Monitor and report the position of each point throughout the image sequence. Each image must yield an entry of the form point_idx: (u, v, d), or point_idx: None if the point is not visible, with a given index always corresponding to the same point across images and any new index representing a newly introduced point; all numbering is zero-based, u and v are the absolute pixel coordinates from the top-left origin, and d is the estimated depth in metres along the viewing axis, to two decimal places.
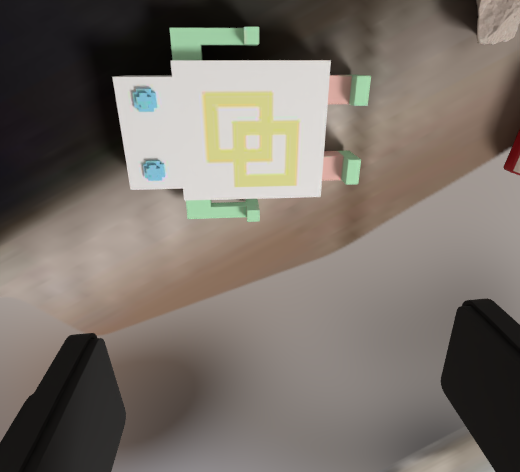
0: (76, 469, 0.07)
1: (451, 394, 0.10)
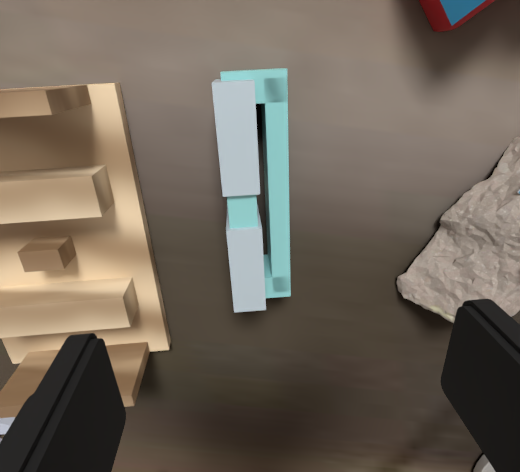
0: (76, 469, 0.07)
1: (451, 394, 0.10)
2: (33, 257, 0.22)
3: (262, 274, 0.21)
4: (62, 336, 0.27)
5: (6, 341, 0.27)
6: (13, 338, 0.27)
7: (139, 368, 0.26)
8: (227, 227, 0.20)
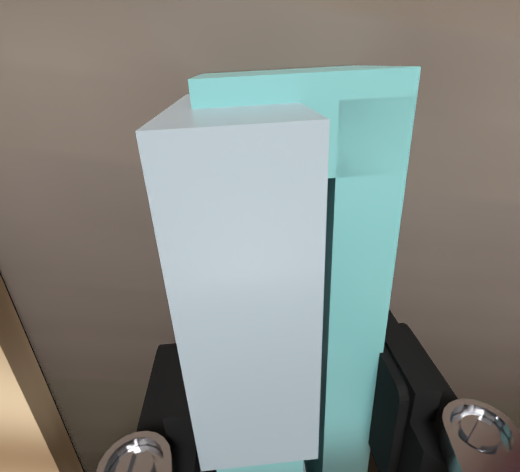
0: None
1: None
2: None
3: None
4: None
5: None
6: None
7: None
8: None
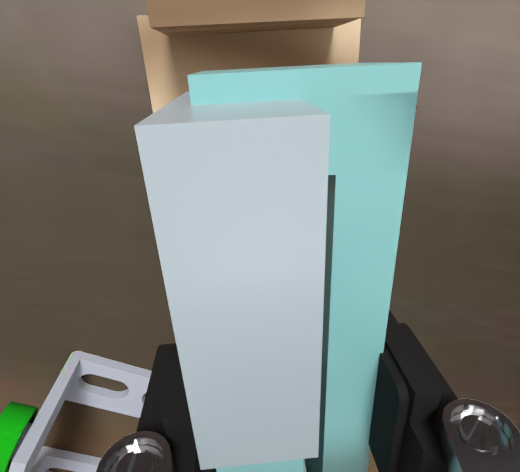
0: None
1: None
2: None
3: None
4: None
5: None
6: None
7: None
8: None
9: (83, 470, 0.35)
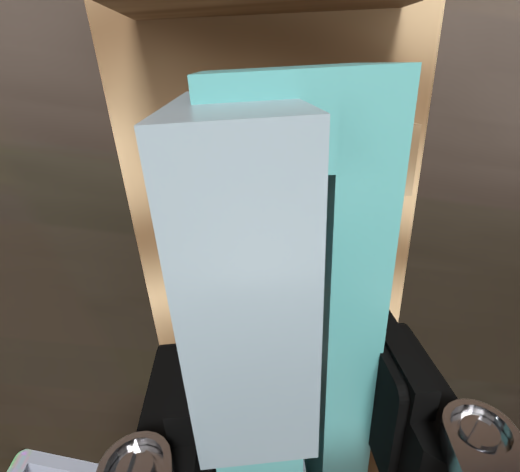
0: None
1: None
2: None
3: None
4: None
5: None
6: None
7: None
8: None
9: None
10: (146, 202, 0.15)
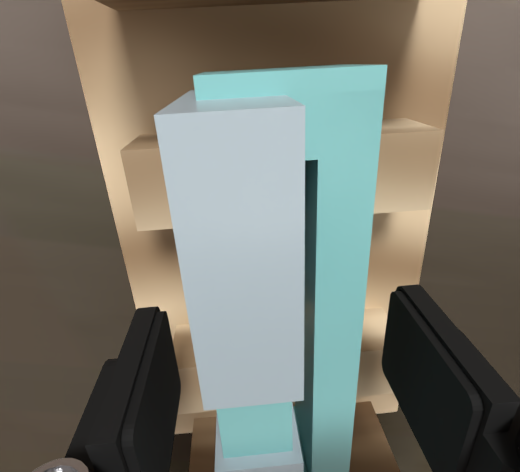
0: (157, 422, 0.08)
1: (388, 374, 0.10)
2: None
3: None
4: None
5: None
6: None
7: (391, 453, 0.16)
8: (218, 452, 0.08)
9: None
10: (133, 215, 0.13)
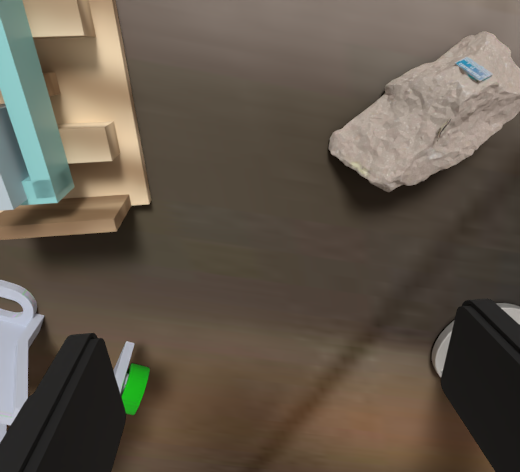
0: (76, 469, 0.07)
1: (451, 394, 0.10)
2: None
3: None
4: None
5: None
6: None
7: (121, 207, 0.28)
8: None
9: None
10: None
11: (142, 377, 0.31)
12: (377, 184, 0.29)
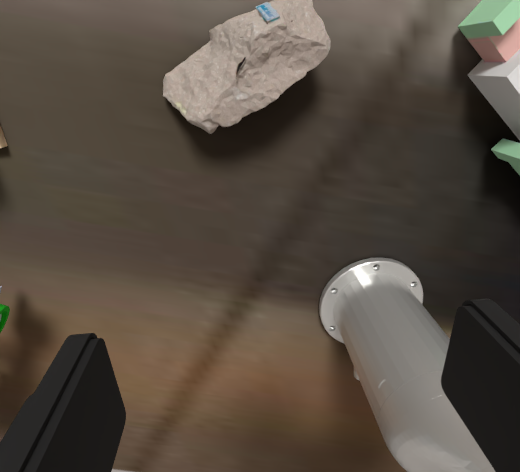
0: (76, 469, 0.07)
1: (451, 394, 0.10)
2: None
3: None
4: None
5: None
6: None
7: None
8: None
9: None
10: None
11: None
12: (194, 123, 0.30)
